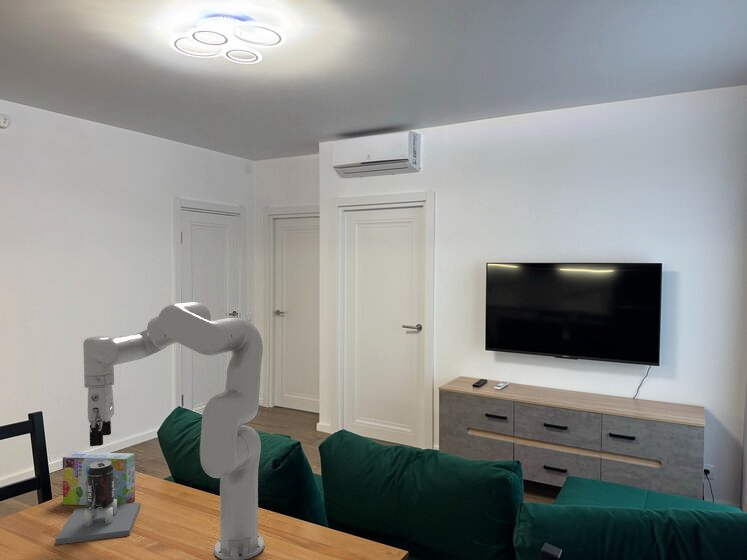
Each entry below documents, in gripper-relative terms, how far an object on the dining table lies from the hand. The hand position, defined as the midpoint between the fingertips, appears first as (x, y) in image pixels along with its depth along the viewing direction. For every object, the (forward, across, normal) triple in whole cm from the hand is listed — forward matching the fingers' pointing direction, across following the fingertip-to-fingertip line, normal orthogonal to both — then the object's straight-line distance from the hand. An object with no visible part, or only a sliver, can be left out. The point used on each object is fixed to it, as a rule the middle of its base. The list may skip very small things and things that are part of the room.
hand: (100, 440), depth 149 cm
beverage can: (+19, 0, 0) cm, 19 cm away
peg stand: (+24, 0, +1) cm, 24 cm away
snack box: (+24, +16, +5) cm, 30 cm away
